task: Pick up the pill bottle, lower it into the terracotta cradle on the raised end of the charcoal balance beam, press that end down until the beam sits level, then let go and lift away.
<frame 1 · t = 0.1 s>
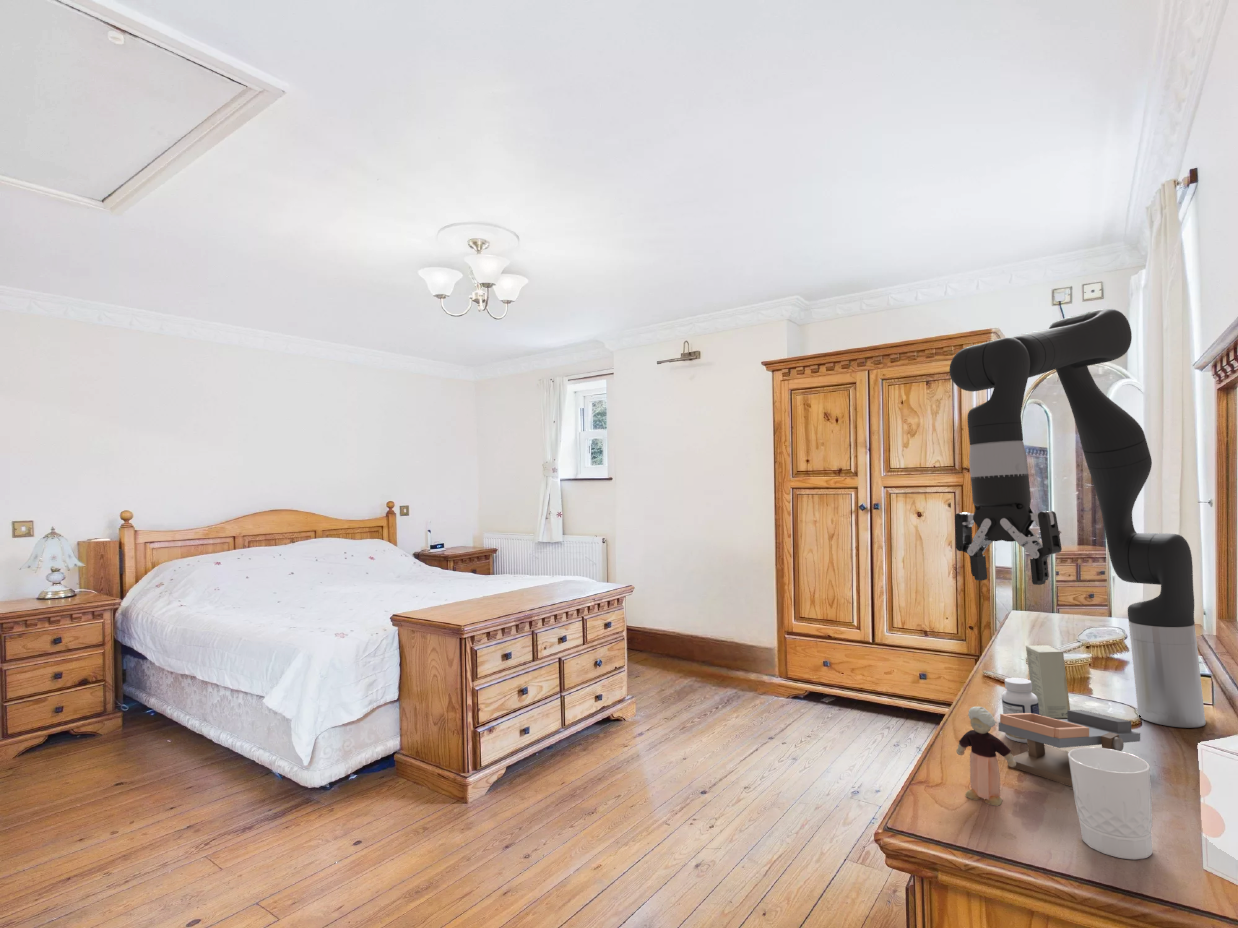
hand: (1008, 582, 96), 29 cm above the table, tool pointing down, fingers open, 8 cm apart
white cup: (1116, 846, 77), on the table
balance stand: (1074, 772, 97), on the table
grandmother figurine: (988, 801, 90), on the table
pill bottle: (1023, 739, 111), on the table
balance beam: (1070, 726, 97), point 7 cm above the table, hinge at -10.0°
skincare box: (1050, 714, 122), on the table
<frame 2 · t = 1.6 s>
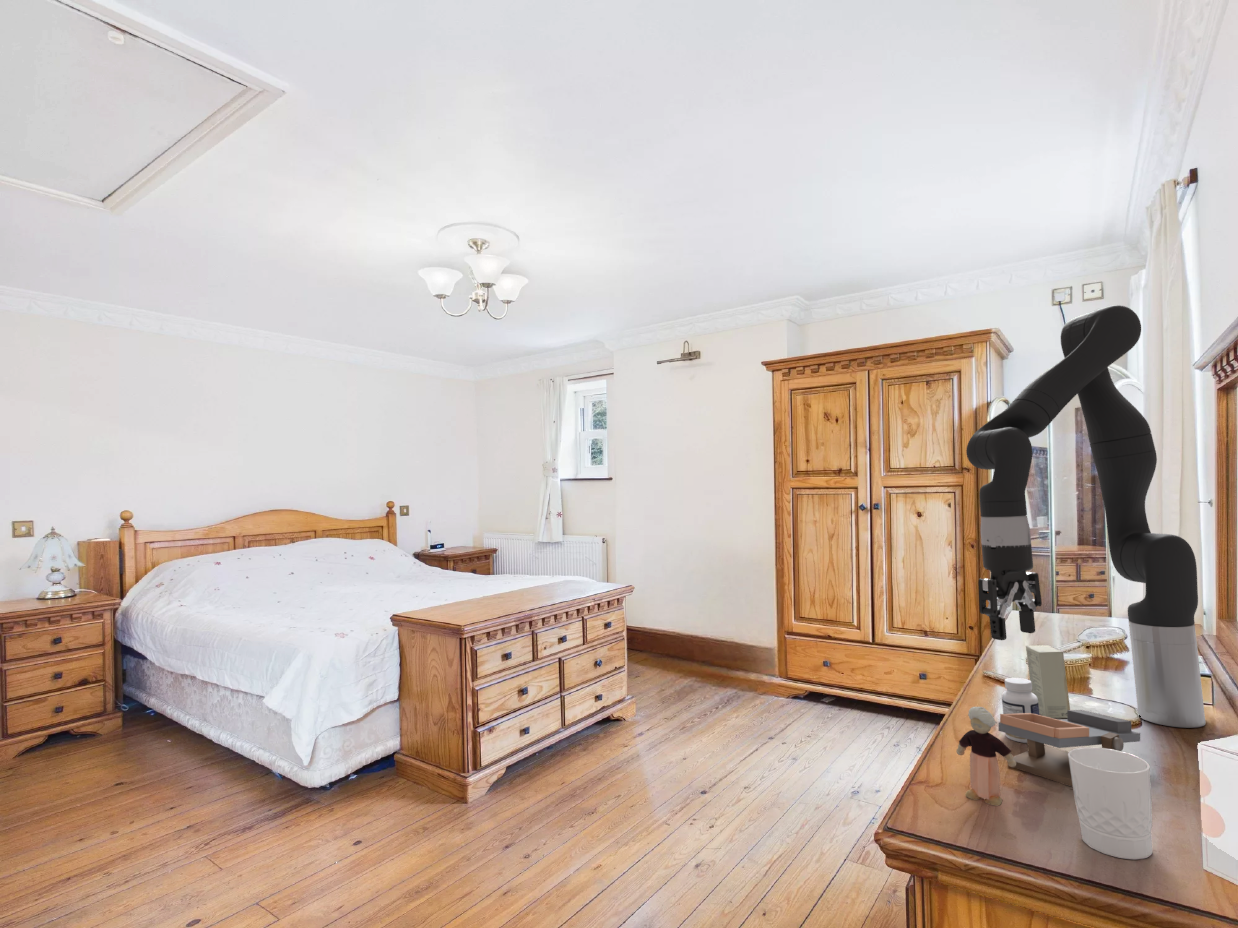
hand: (1013, 635, 112), 17 cm above the table, tool pointing down, fingers open, 8 cm apart
nothing on the table moved.
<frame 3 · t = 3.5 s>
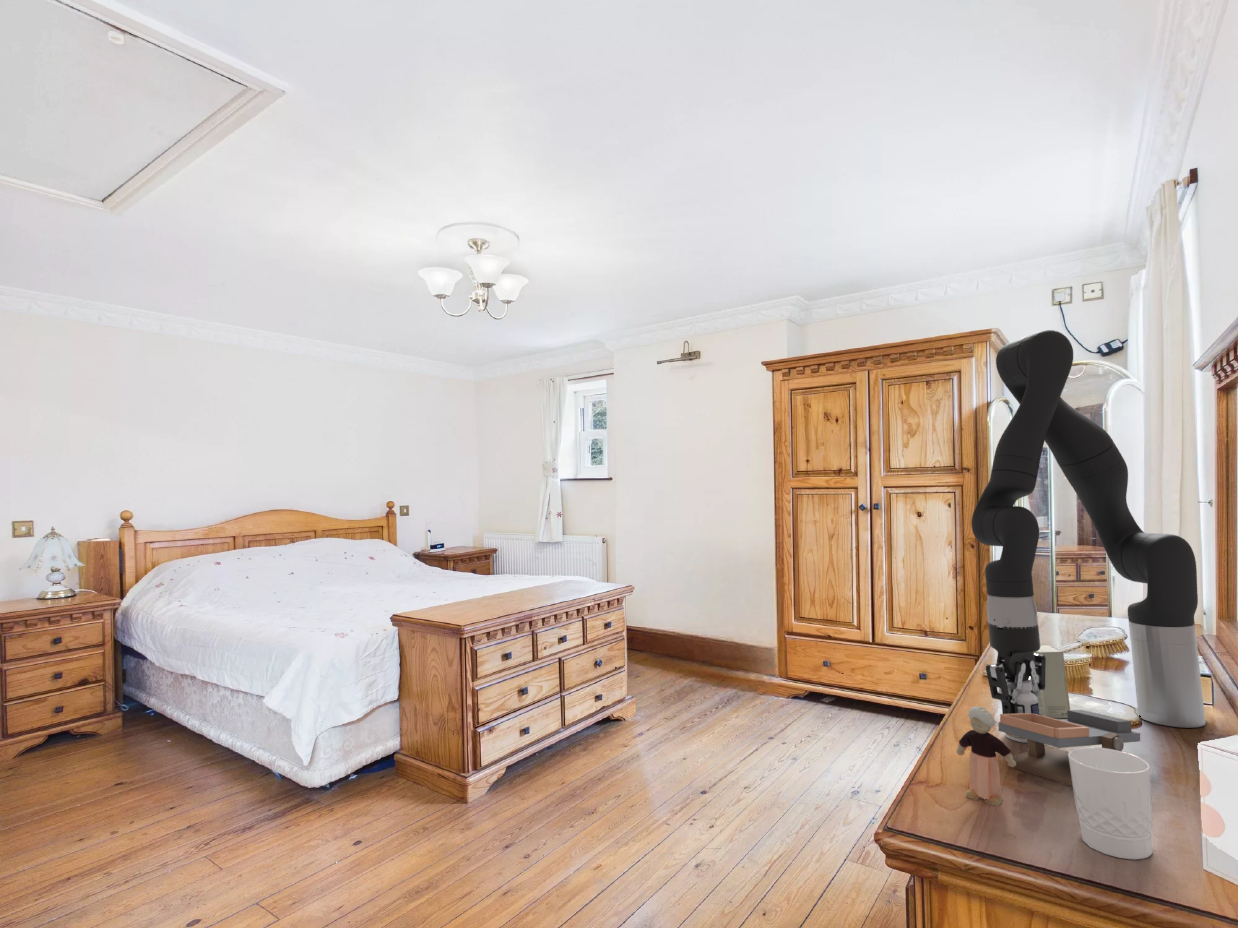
hand: (1021, 719, 111), 3 cm above the table, tool pointing down, fingers closed on pill bottle, 5 cm apart
pill bottle: (1023, 739, 111), on the table, touching gripper
everything else where it was.
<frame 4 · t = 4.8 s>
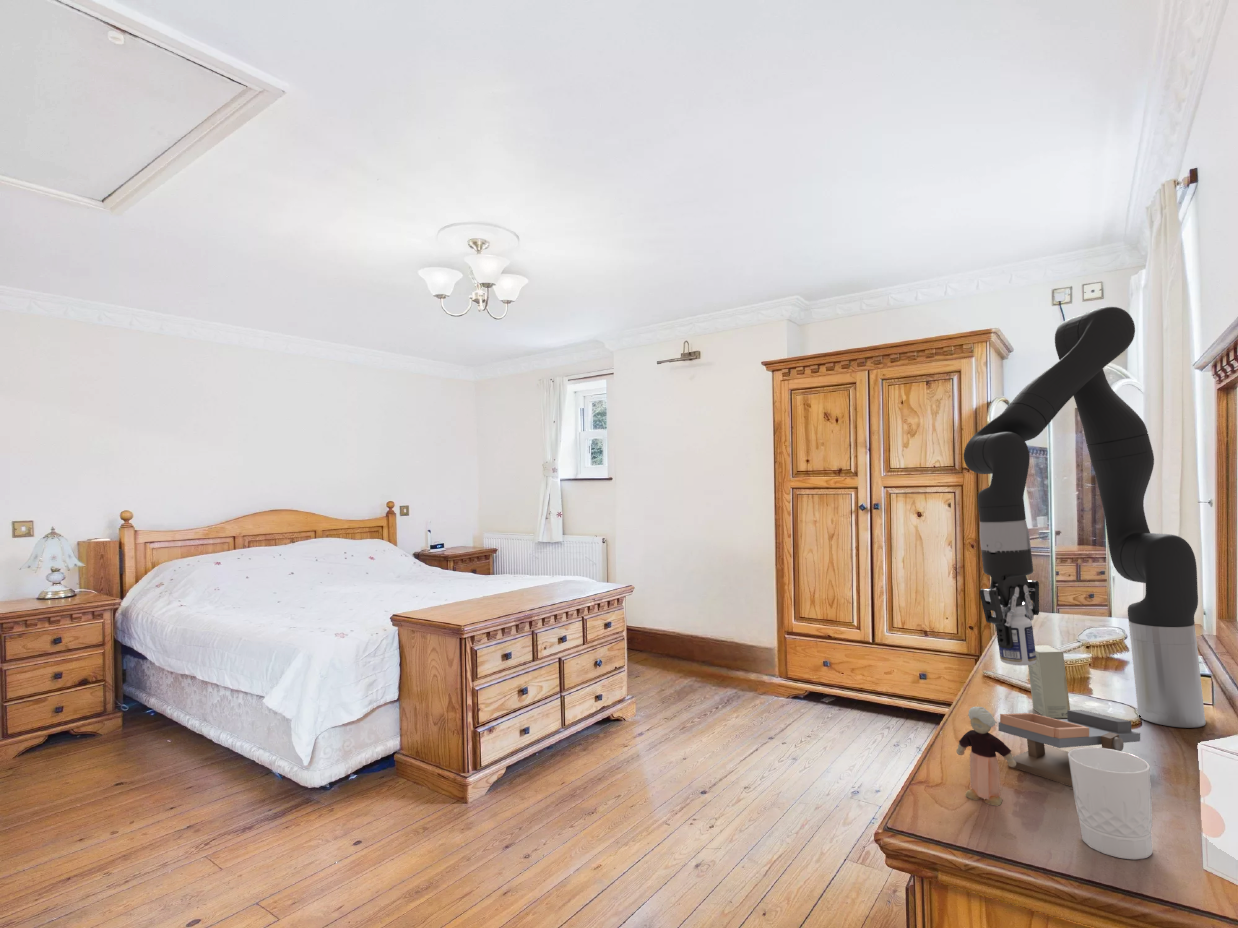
hand: (1016, 644, 112), 16 cm above the table, tool pointing down, fingers closed on pill bottle, 5 cm apart
pill bottle: (1018, 663, 112), point 13 cm above the table, touching gripper
everything else where it was.
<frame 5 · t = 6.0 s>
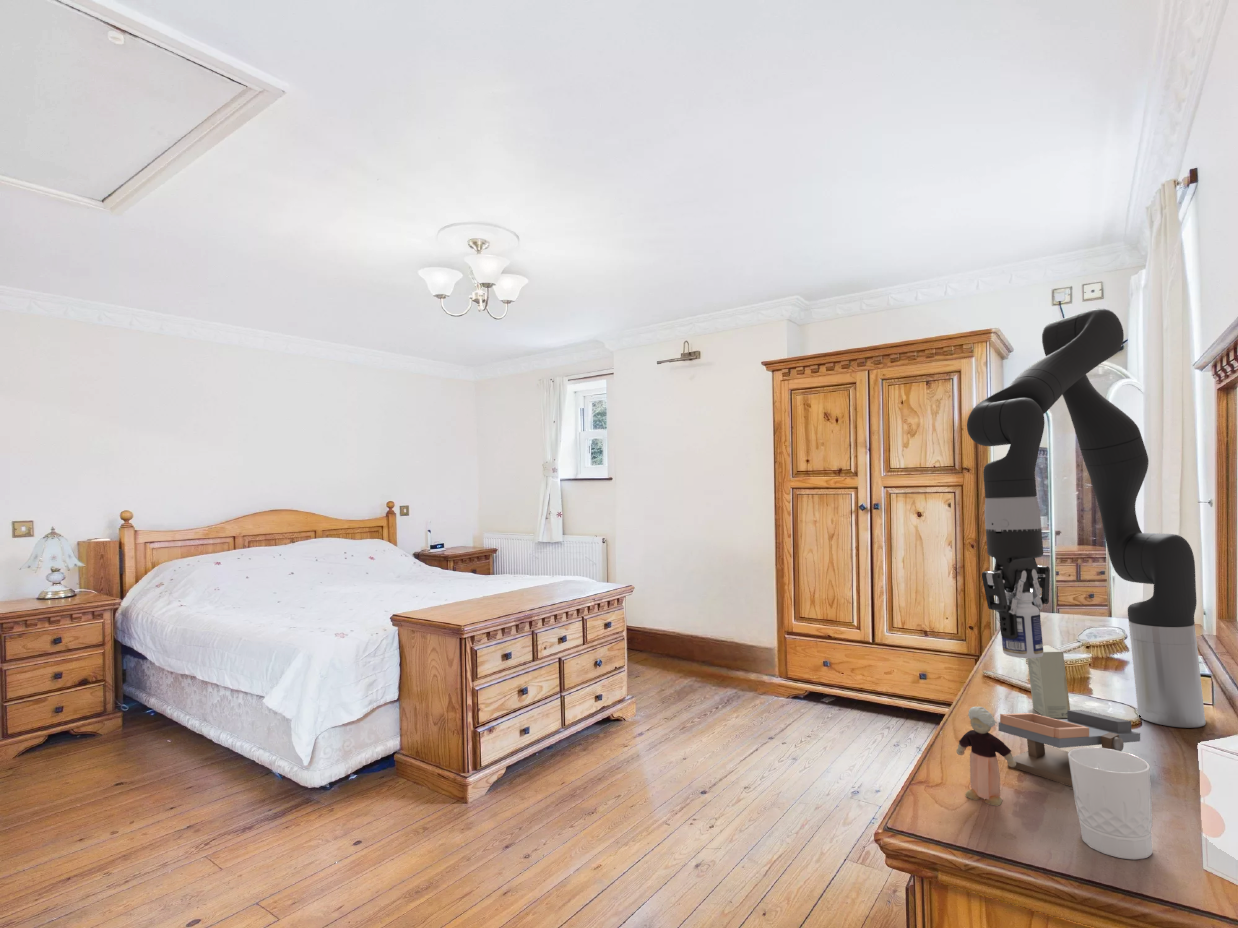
hand: (1021, 635, 100), 20 cm above the table, tool pointing down, fingers closed on pill bottle, 5 cm apart
pill bottle: (1023, 656, 100), point 17 cm above the table, touching gripper
everything else where it was.
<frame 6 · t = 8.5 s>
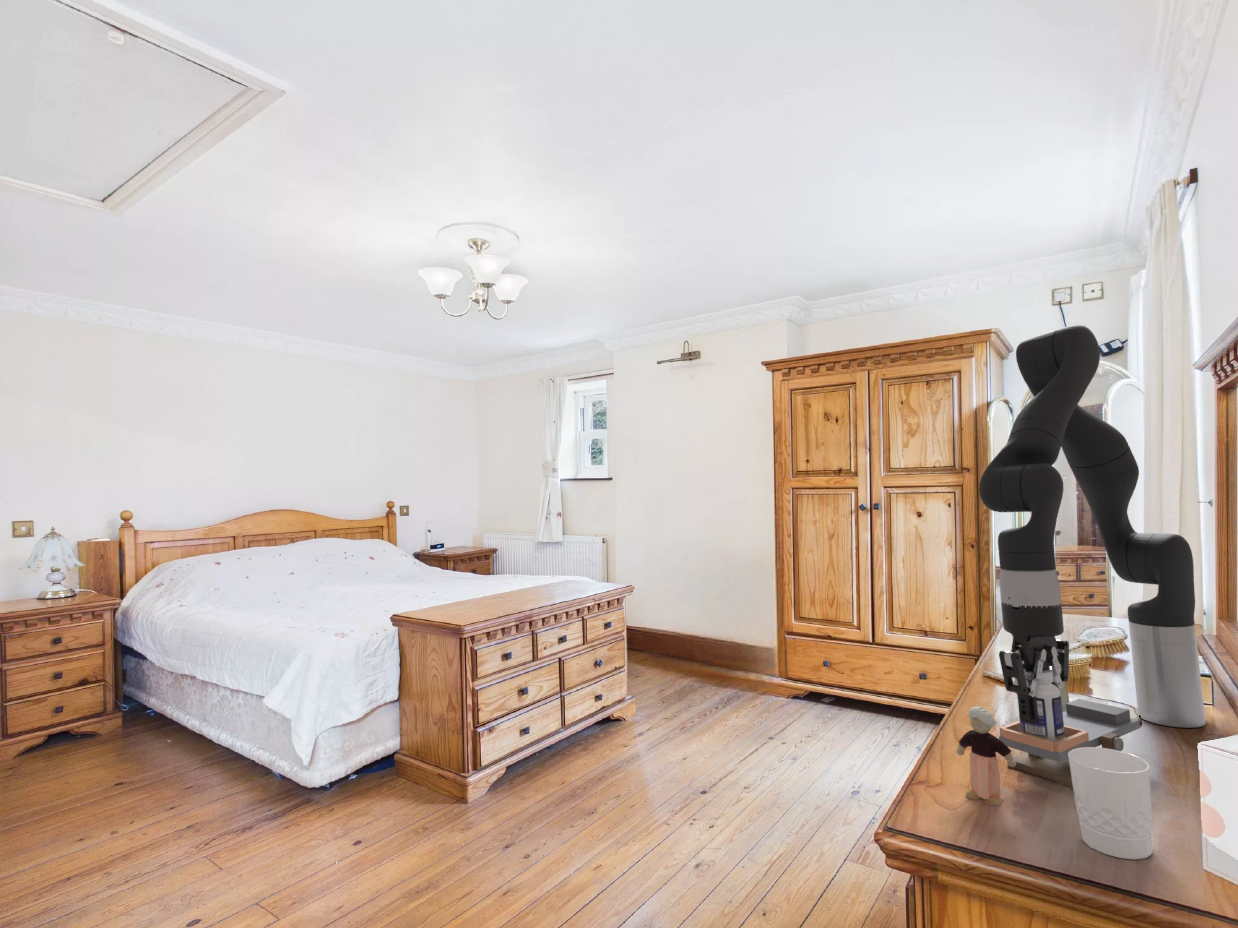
hand: (1040, 716, 94), 10 cm above the table, tool pointing down, fingers closed on pill bottle, 5 cm apart
pill bottle: (1042, 739, 94), point 6 cm above the table, touching balance beam, gripper
balance beam: (1069, 726, 97), point 7 cm above the table, hinge at 0.0°, touching pill bottle
everything else where it was.
when the fingers open (10 cm above the table, at t = 8.7 s): pill bottle stays where it is, resting on balance beam.
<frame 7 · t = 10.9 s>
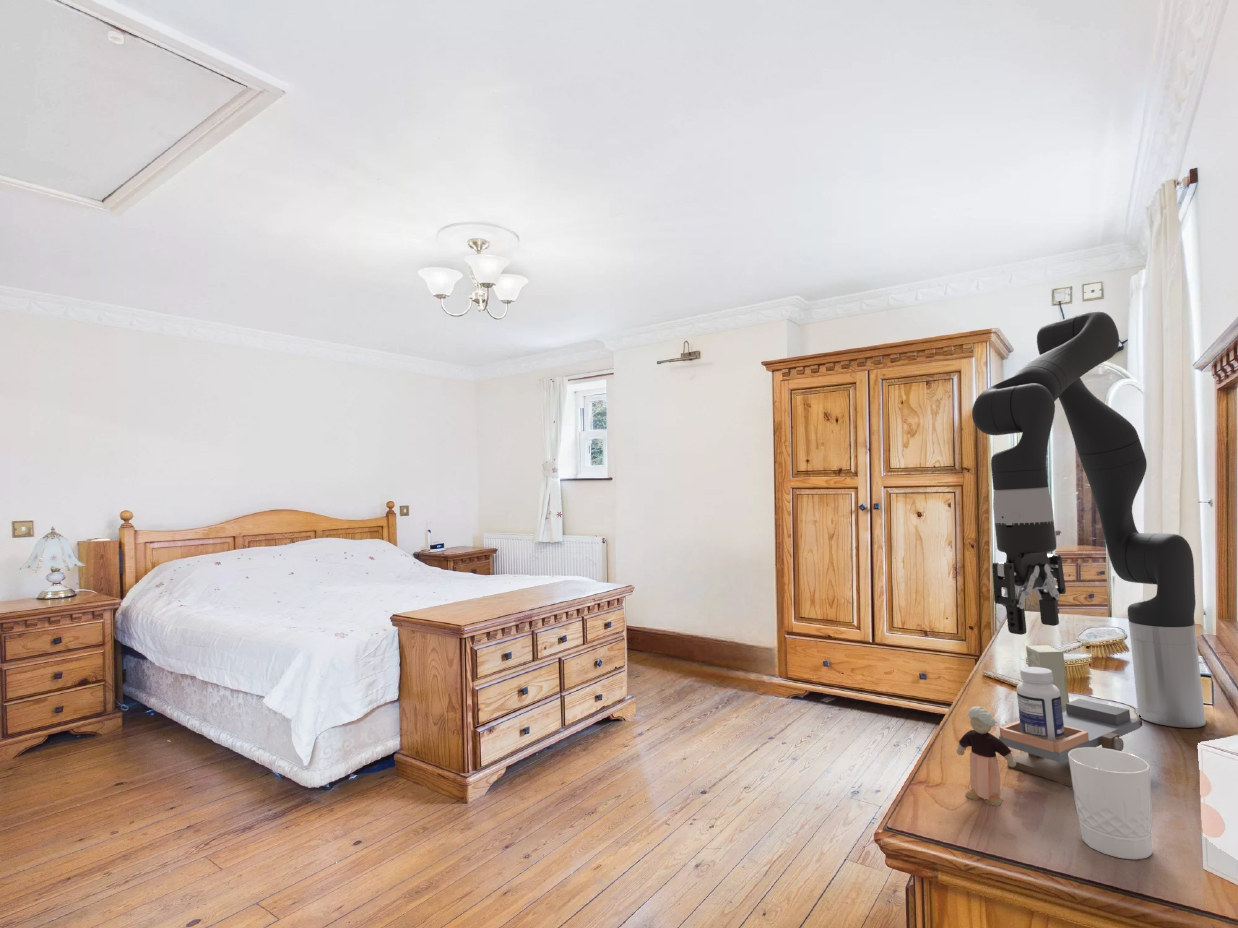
hand: (1034, 629, 95), 22 cm above the table, tool pointing down, fingers open, 8 cm apart
pill bottle: (1042, 739, 94), point 6 cm above the table, touching balance beam
everything else where it was.
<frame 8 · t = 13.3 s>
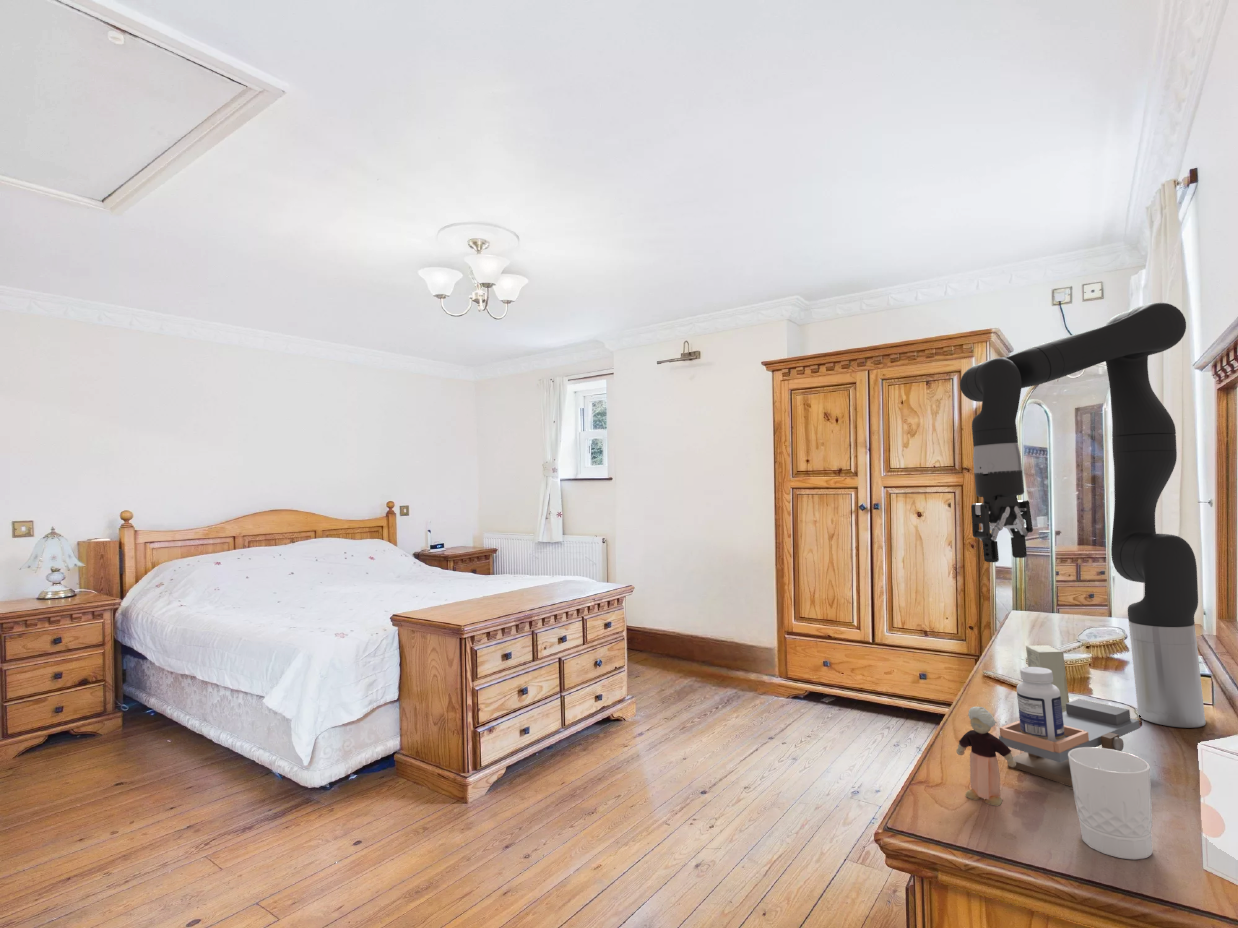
hand: (1005, 559, 116), 30 cm above the table, tool pointing down, fingers open, 8 cm apart
nothing on the table moved.
at the end: balance beam at +0° (first picture: -10°); pill bottle 0.1 cm from the target spot on the balance beam, point 0.4 cm above the balance beam's base; pill bottle tilted 0° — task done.
